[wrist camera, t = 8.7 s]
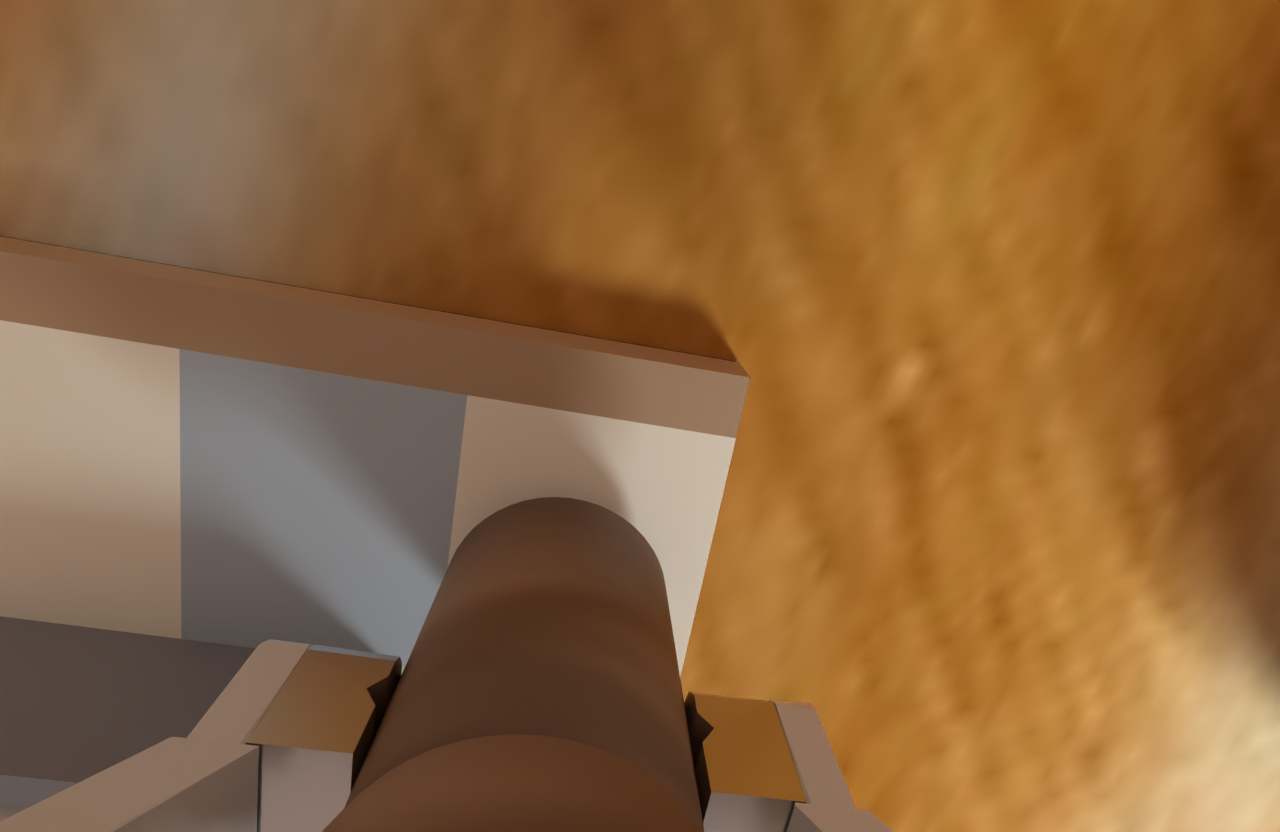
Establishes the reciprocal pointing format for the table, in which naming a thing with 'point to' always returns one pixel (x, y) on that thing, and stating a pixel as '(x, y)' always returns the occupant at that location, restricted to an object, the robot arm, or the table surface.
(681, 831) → the pawn
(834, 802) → the robot arm
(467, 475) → the board
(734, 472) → the table surface
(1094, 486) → the table surface
